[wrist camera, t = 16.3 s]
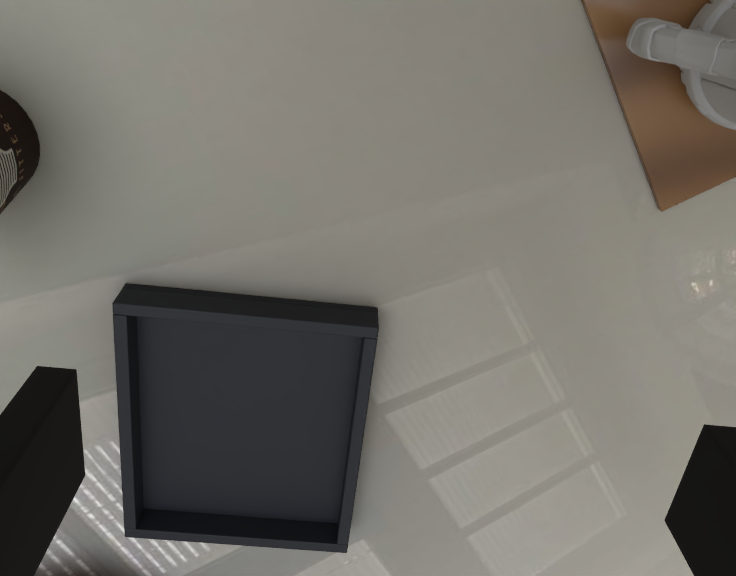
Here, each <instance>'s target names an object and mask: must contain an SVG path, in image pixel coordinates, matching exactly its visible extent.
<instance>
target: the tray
mask: <svg viewBox="0 0 736 576" xmlns="http://www.w3.org/2000/svg"><path fill="white" fill-rule="evenodd" d="M113 324H114V343H115V362H116V381H117V400H118V418H119V437H120V456H121V475H122V493H123V512H124V528H125V537H134V538H147V539H161V540H175V541H189V542H203V543H216V544H230V545H244V546H258V547H271V548H285V549H299V550H313V551H327V552H340V553H347V548H348V541H349V534H350V527H351V520H352V513H353V506H354V499H355V492H356V485H357V478H358V471H359V464H360V457H361V450H362V443H363V436H364V429H365V422H366V415H367V407H368V400H369V393H370V386H371V379H372V372H373V365H374V358H375V351H376V344H377V337H378V330H379V324H378V308H375V307H365V306H354V305H344V304H334V303H323V302H313V301H302V300H292V299H282V298H271V297H261V296H250V295H240V294H230V293H219V292H209V291H198V290H188V289H178V288H167V287H157V286H146V285H136V284H125V285H124V287H123V289H122V290H121V292H120V293H119V294H118V296H117V297H116V299H115V300H114V302H113Z"/></svg>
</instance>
